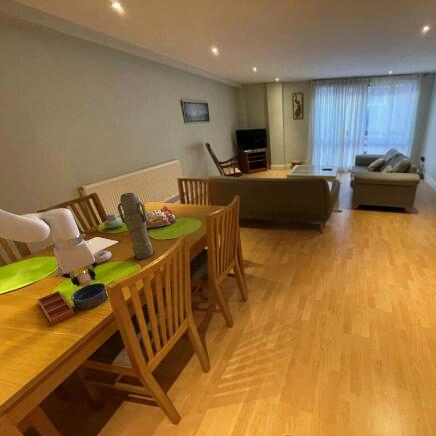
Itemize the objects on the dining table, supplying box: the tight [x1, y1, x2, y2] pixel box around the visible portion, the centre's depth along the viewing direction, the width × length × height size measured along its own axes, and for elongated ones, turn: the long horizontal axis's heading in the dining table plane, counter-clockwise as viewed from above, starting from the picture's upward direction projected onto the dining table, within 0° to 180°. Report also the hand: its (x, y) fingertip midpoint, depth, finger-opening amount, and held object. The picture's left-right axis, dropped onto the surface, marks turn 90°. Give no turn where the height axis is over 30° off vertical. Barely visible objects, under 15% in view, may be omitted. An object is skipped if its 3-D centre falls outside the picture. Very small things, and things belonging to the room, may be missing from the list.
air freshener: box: [103, 212, 124, 230], centre depth 165 cm, size 11×8×10 cm
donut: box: [93, 250, 113, 264], centre depth 127 cm, size 10×4×10 cm
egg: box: [75, 270, 93, 287], centre depth 95 cm, size 4×4×6 cm
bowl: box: [70, 282, 109, 310], centre depth 98 cm, size 11×11×4 cm
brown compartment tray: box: [36, 290, 76, 326], centre depth 94 cm, size 7×19×2 cm, turn 54°
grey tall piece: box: [117, 192, 154, 260], centre depth 126 cm, size 9×12×35 cm
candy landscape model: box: [145, 205, 177, 229], centre depth 173 cm, size 25×24×9 cm
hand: (85, 281), depth 95 cm, fingers closed on egg, 4 cm apart
